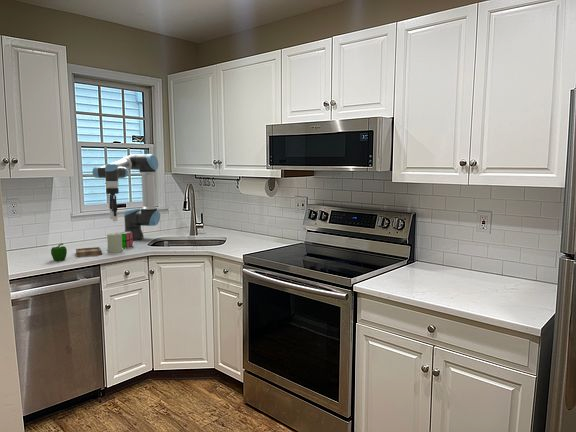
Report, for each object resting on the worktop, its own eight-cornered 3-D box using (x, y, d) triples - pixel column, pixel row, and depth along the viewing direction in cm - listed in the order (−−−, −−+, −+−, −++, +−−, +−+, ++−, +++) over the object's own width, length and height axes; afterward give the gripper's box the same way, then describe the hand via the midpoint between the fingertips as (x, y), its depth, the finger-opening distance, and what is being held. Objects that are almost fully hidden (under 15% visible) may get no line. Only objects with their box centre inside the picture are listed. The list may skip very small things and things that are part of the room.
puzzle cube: (133, 245, 314) (132, 231, 313) (126, 248, 304) (125, 233, 303) (119, 245, 315) (118, 231, 314) (112, 248, 305) (111, 233, 304)
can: (114, 253, 286) (113, 234, 284) (104, 252, 290) (103, 233, 289) (125, 250, 294) (125, 233, 292) (116, 249, 298) (115, 232, 297)
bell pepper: (49, 261, 260) (48, 245, 259) (54, 259, 268) (53, 242, 267) (64, 261, 262) (63, 244, 261) (69, 258, 270) (68, 242, 269)
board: (99, 251, 293) (99, 247, 293) (101, 254, 281) (101, 250, 280) (76, 253, 286) (75, 248, 286) (77, 257, 274) (77, 252, 274)
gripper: (103, 187, 296) (105, 218, 299) (108, 188, 275) (109, 222, 277) (115, 186, 300) (117, 217, 302) (121, 188, 278) (122, 221, 280)
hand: (113, 220), depth 290 cm, fingers open, 13 cm apart
